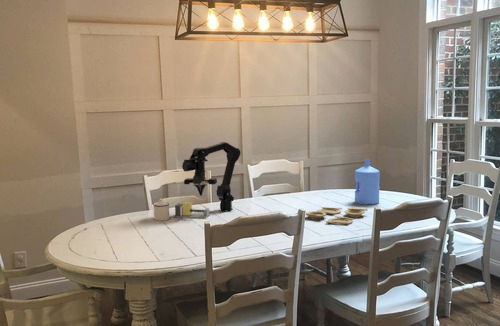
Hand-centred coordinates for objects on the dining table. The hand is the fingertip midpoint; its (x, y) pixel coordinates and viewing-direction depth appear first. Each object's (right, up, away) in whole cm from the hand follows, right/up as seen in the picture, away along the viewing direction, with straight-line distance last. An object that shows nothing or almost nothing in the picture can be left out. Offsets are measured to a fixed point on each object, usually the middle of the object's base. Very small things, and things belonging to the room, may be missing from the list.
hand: (201, 195), depth 276 cm
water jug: (+105, -7, +29) cm, 110 cm away
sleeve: (-8, -11, -1) cm, 14 cm away
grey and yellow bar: (-4, -12, -2) cm, 13 cm away
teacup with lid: (-23, -13, -5) cm, 27 cm away
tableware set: (+77, -12, -9) cm, 79 cm away
